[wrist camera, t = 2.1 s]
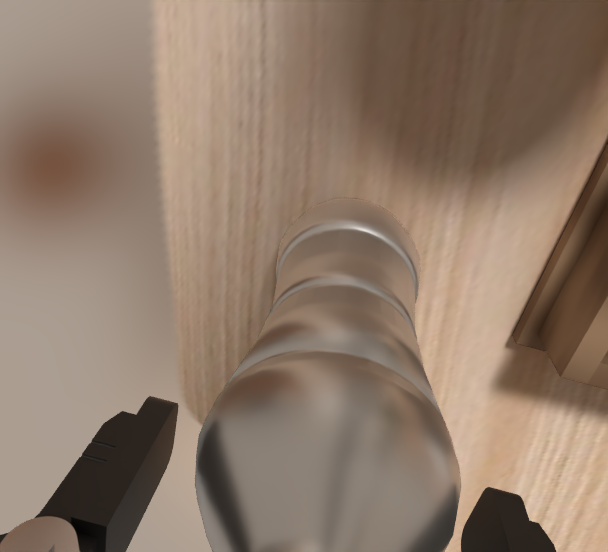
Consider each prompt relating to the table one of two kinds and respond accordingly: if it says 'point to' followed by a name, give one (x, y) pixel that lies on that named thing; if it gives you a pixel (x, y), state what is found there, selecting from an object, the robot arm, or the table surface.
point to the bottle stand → (575, 292)
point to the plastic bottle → (332, 404)
